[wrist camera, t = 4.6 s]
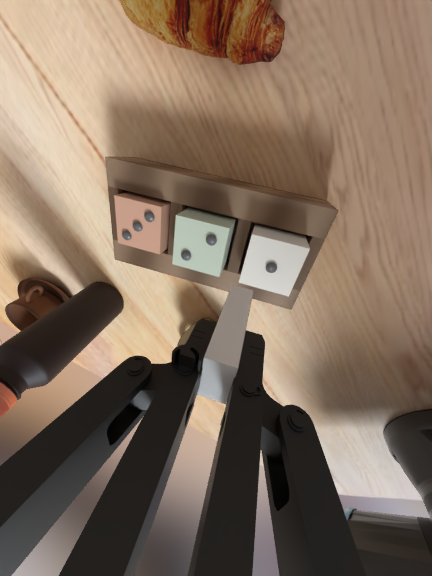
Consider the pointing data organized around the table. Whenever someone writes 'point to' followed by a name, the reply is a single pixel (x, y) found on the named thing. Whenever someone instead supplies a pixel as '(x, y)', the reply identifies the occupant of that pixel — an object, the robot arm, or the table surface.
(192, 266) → the two pip tile
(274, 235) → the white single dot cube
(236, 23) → the croissant
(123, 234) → the three pip tile
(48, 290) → the cup and saucer
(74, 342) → the bottle
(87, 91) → the table surface
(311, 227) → the wooden tile tray
